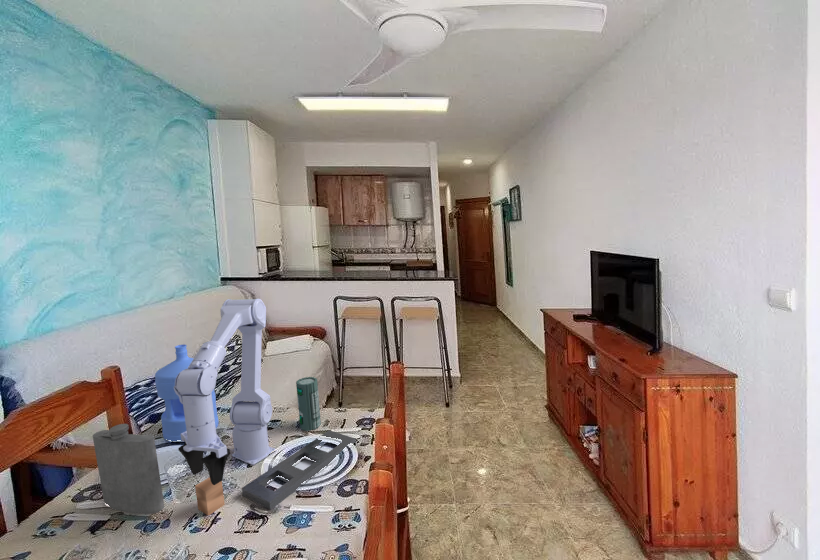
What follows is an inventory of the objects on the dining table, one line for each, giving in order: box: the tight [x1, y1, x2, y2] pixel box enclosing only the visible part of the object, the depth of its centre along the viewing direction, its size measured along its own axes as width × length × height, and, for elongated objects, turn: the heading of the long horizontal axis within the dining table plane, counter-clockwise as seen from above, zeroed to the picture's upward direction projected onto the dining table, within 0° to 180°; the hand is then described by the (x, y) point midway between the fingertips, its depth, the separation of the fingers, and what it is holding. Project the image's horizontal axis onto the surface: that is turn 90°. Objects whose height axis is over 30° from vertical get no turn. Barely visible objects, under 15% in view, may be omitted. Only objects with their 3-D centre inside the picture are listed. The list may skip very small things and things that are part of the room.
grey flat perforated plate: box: [241, 429, 356, 511], centre depth 107 cm, size 10×30×2 cm, turn 148°
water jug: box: [154, 344, 220, 441], centre depth 127 cm, size 16×16×28 cm
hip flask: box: [92, 423, 165, 515], centre depth 94 cm, size 16×4×20 cm, turn 76°
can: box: [295, 376, 322, 432], centre depth 128 cm, size 6×6×15 cm
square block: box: [194, 476, 226, 516], centre depth 93 cm, size 4×4×6 cm
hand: (207, 477), depth 92 cm, fingers open, 7 cm apart
